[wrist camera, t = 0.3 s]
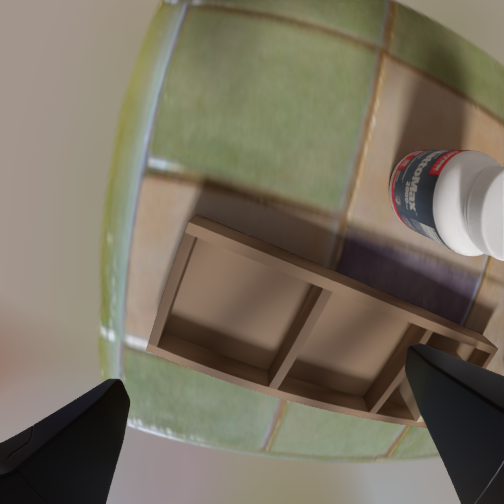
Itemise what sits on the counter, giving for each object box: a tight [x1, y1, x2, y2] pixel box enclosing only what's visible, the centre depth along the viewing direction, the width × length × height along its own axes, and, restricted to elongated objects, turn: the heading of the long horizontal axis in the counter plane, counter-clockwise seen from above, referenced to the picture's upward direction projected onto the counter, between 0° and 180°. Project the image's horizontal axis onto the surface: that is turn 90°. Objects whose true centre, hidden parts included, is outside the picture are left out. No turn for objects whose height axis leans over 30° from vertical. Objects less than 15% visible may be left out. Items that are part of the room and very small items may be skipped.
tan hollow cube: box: [399, 350, 463, 422], centre depth 19 cm, size 4×4×4 cm
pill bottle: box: [389, 150, 504, 261], centre depth 14 cm, size 5×5×9 cm
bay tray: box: [146, 215, 498, 428], centre depth 20 cm, size 25×9×2 cm, turn 67°
